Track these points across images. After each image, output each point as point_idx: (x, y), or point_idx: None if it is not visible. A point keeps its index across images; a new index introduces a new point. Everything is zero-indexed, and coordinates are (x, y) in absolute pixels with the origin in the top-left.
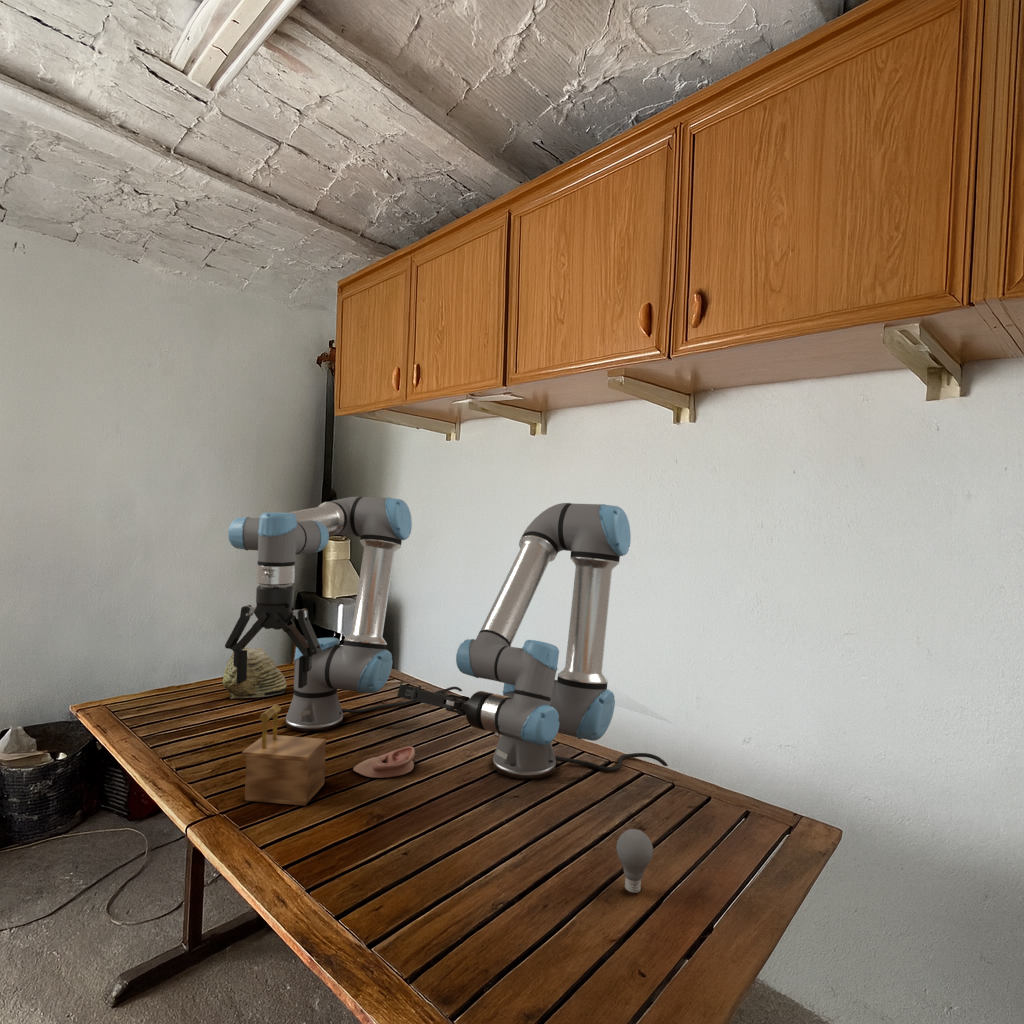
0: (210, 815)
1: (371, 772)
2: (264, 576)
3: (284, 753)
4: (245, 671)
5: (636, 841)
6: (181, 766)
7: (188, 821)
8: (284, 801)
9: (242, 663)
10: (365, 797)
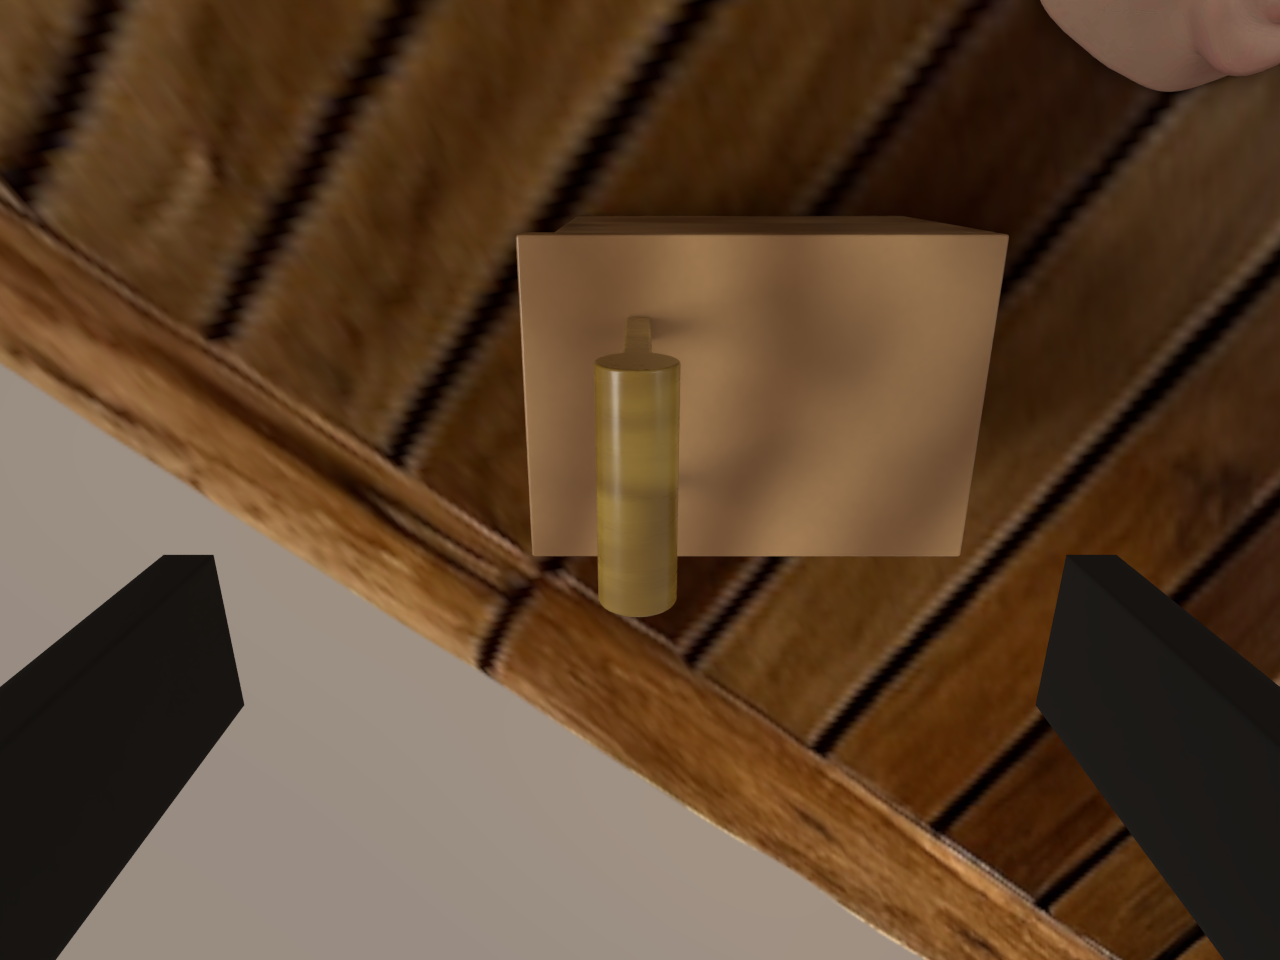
0: (515, 592)
1: (1175, 63)
2: None
3: (802, 531)
4: (146, 660)
5: None
6: (6, 145)
7: (461, 644)
8: None
9: (66, 869)
10: (1148, 322)
